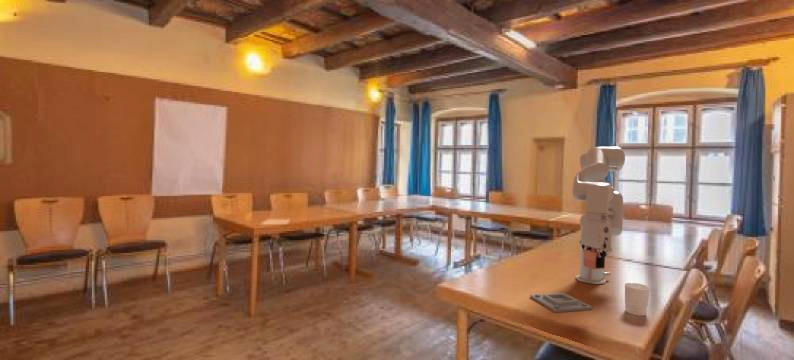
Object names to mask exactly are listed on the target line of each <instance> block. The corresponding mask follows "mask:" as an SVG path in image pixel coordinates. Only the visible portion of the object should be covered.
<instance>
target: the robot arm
mask: <svg viewBox="0 0 794 360" xmlns="http://www.w3.org/2000/svg"><path fill="white" fill-rule="evenodd" d="M579 157H580V158H579V164H580V169H581V170H579V171H578V172H577V173H576V174H575V176H574V177H573V183H572V196H573V198H574V199H575V200H576V201H581V202H582V201H583V202H584V207H585V211H584V212H585V213H583V214H582V215H581V216H580V220H579V224H580V226H579V227H580V240H579V241H578V242H579V244H580V256H579V258H580V260H579V261H580V262H579V263H580V264H579V273H578V274H576V276H575V279H576V280H577V281H578V282H582V283H585V284H592V285H603V284H605V283H606V281H607V280H606V279H605V277H610V276H611V275H612V274H611V272H610V271H603V269H591V268H588V267H586V266H584V250H592V248H595V249H597V255H598V257H596V268H604V260H605V261H606V257H607V255H609V254H610V253H612V252H613V249H612V236H615V237H616V236H620V235H621V234H622V233H623V232H622V231H623V225H624V198H623V195H622V193H621V192H619V191H616V190H615V189H614V187H613V185H612V184H610V183H609V182H606V179H605V178H607V176H608V175H609V172H619V171H621V170H622V169H623V166H625V165H624V164H625V161H626V154H625V151H624V149H623V148H621V147H619V146H595V147H592V148H590V149H588V151H587V152H585V153H582V154H581V155H580V156H579ZM609 213H611V214H609ZM601 251H602V253H601Z"/></svg>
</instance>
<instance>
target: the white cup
mask: <svg viewBox="0 0 794 360" xmlns="http://www.w3.org/2000/svg"><path fill="white" fill-rule="evenodd" d="M650 289H651V288H650V287H649V286H648V285H645V284H642V283H637V282H626V283H624V304H625V305H624V310H625V312H626V313H628V314H630V315H632V316H637V317H638V316H639V317H643V316H646V315H647V313H648V306H649V297H650Z"/></svg>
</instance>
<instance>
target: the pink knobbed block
mask: <svg viewBox="0 0 794 360" xmlns="http://www.w3.org/2000/svg"><path fill="white" fill-rule="evenodd" d="M601 253H602V251H601ZM596 257H598V255H597V249H595V248H592V250H584V266H586V267H588V268H591V269H602V270H603V269H606V268H605V267H606V259H605V260H604V268H596Z"/></svg>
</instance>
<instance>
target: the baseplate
mask: <svg viewBox="0 0 794 360" xmlns="http://www.w3.org/2000/svg"><path fill="white" fill-rule="evenodd" d="M529 297H530V299H532V300H534V301H535V302H537V303H539V304H541V305H542V306H544V307H545V308H547V309H549V310H550V311H552V312H554V313H564V312H565V313H567V312H574V311H585V310H588V311H589V310H593V306H592V305H590V304H588V303H587V302H584V301H582V300H580V299H578V298H576V297H574V296H572V295H569V294H568V293H567V292H564V291H563V292H562V291H561V292H553V293H551V292H550V293H540V294H539V293H535V294H530V296H529Z"/></svg>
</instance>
